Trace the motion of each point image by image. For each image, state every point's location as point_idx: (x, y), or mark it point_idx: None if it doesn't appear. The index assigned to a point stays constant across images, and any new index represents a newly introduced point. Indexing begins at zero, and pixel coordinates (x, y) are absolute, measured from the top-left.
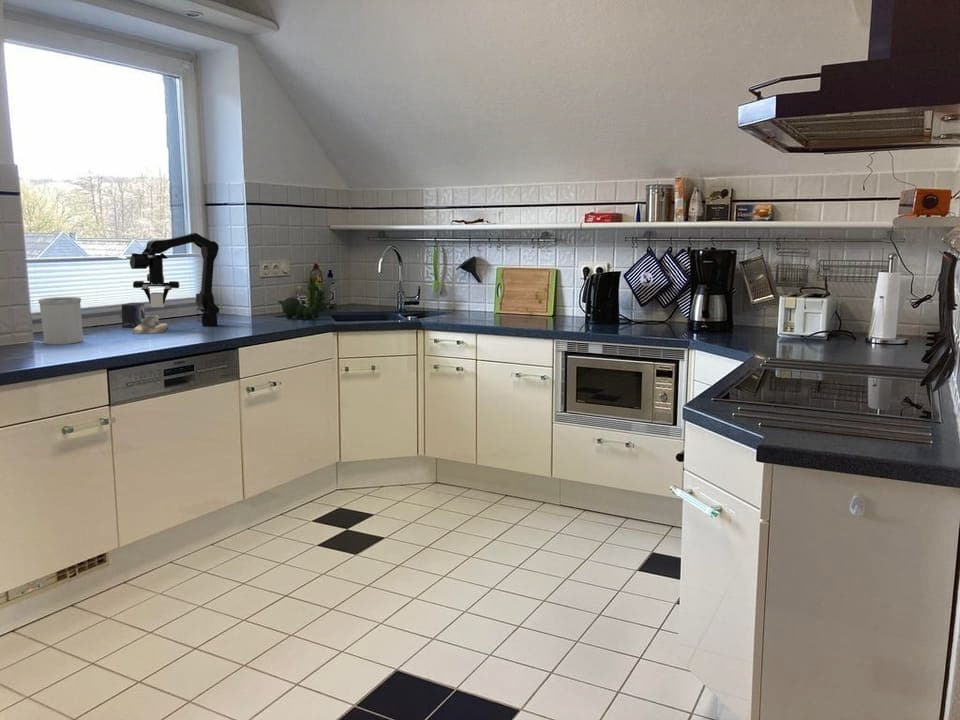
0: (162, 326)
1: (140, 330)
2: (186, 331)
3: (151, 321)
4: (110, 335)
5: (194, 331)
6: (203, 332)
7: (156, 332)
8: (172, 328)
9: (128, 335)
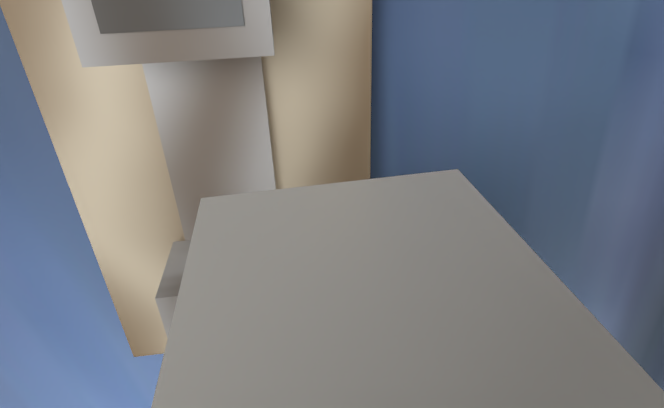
0: (347, 138)
1: None
2: (538, 246)
3: None
4: (7, 400)
5: (594, 250)
6: (636, 299)
7: None
8: (434, 12)
9: (147, 400)
